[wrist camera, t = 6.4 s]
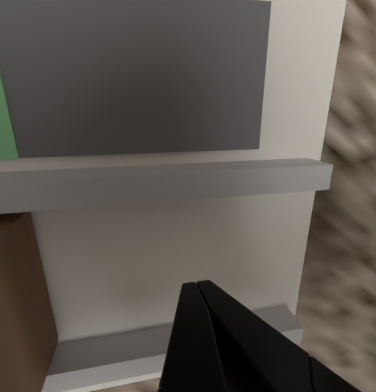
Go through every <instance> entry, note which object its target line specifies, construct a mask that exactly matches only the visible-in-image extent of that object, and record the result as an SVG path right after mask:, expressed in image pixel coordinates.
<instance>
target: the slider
mask: <svg viewBox="0 0 376 392" xmlns="http://www.w3.org/2000/svg"><path fill="white" fill-rule="evenodd" d="M57 343H58V335H57V330H56V326H55V321H54V316H53V312H52V307H51V303H50V298H49V294H48V289H47V285H46V280H45V276H44V271H43V266H42V262H41V257H40V253H39V248H38V244H37V239H36V235H35V230H34V226H33V221H32V216H31V212H18V213H5V214H0V392H42V389H43V385H44V382H45V379H46V376H47V373H48V370H49V367H50V364H51V361H52V358H53V355H54V352H55V349H56V346H57Z"/></svg>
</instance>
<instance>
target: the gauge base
mask: <svg viewBox="0 0 376 392" xmlns="http://www.w3.org/2000/svg"><path fill="white" fill-rule="evenodd" d="M345 6H346V0H0V214H5V213H18V212H31V216H32V221H33V226H34V230H35V235H36V239H37V244H38V248H39V253H40V257H41V262H42V266H43V271H44V276H45V280H46V285H47V289H48V294H49V298H50V303H51V307H52V312H53V316H54V321H55V326H56V330H57V335H58V343H57V346H56V349H55V352H54V355H53V358H52V361H51V364H50V367H49V370H48V373H47V376H46V379H45V382H44V385H43V389H42V392H89V391H94V390H99V389H104V388H109V387H114V386H119V385H124V384H129V383H133V382H138V381H143V380H148V379H153V378H158V377H161V374H162V370H163V365H164V361H165V357H166V352H167V348H168V343H169V339H170V334H171V330H172V326H173V321H174V317H175V312H176V308H177V303H178V299H179V294H180V290H181V286H182V284H183V283H187V282H197V281H202V280H211V281H212V282H213V283H215V284H216V285H217V286H219V287H220V288H221V289H223V290H224V291H225V292H227V293H228V294H229V295H231V296H232V297H233V298H235V299H236V300H237V301H239V302H240V303H241V304H243V305H244V306H245V307H247V308H248V309H249V310H251V311H252V312H253V313H255V314H256V315H257V316H259V317H260V318H261V319H263V320H264V321H265V322H267V323H268V324H269V325H271V326H272V327H273V328H275V329H276V330H277V331H279V332H280V333H282V334H283V335H284V336H286V337H287V338H288V339H290V340H291V341H292V342H294V343H295V344H301V341H302V336H303V330H304V327H303V326H302V325H301V323H300V322H299V321H298V320H297V318H296V317H295V312H296V306H297V300H298V294H299V288H300V282H301V276H302V270H303V263H304V257H305V251H306V245H307V239H308V233H309V227H310V221H311V214H312V208H313V202H314V196H315V191H317V190H329V186H330V181H331V175H332V170H333V164H329V163H325V162H322V161H320V159H321V153H322V147H323V141H324V135H325V129H326V123H327V116H328V110H329V104H330V98H331V92H332V86H333V80H334V74H335V68H336V61H337V55H338V49H339V43H340V37H341V31H342V25H343V19H344V12H345Z"/></svg>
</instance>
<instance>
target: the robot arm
mask: <svg viewBox="0 0 376 392" xmlns="http://www.w3.org/2000/svg"><path fill="white" fill-rule="evenodd" d="M157 392H361V391H360V390H358V389H357V388H355V387H354V386H352V385H351V384H349V383H348V382H347V381H345V380H344V379H343V378H341V377H340V376H338V375H337V374H336V373H334V372H333V371H331V370H330V369H329V368H327V367H326V366H325V365H323V364H322V363H320V362H319V361H318V360H316V359H315V358H314V357H312V356H310V357H309V354H308V353H307V352H306V351H304V350H303V349H302V348H300V347H299V346H298V345H296V344H295V343H294V342H292V341H291V340H290V339H288V338H287V337H286V336H284V335H283V334H282V333H280V332H279V331H277V330H276V329H275V328H273V327H272V326H271V325H269V324H268V323H267V322H265V321H264V320H263V319H261V318H260V317H259V316H257V315H256V314H255V313H253V312H252V311H251V310H249V309H248V308H247V307H245V306H244V305H243V304H241V303H240V302H239V301H237V300H236V299H235V298H233V297H232V296H231V295H229V294H228V293H227V292H225V291H224V290H223V289H221V288H220V287H219V286H217V285H216V284H215V283H213V282H212V281H211V280H202V281H197V282H187V283H183V284H182V286H181V290H180V294H179V299H178V303H177V308H176V312H175V317H174V321H173V326H172V330H171V334H170V339H169V343H168V348H167V352H166V357H165V361H164V365H163V370H162V374H161V379H160V383H159V389H158V391H157Z"/></svg>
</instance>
